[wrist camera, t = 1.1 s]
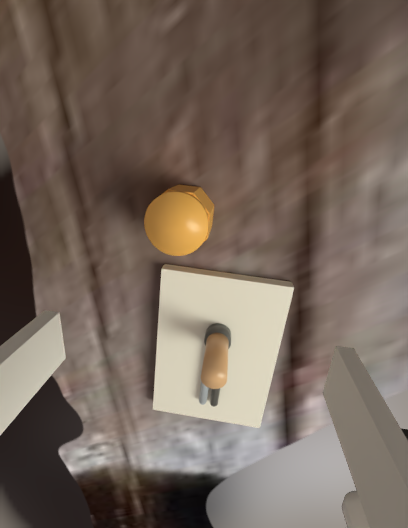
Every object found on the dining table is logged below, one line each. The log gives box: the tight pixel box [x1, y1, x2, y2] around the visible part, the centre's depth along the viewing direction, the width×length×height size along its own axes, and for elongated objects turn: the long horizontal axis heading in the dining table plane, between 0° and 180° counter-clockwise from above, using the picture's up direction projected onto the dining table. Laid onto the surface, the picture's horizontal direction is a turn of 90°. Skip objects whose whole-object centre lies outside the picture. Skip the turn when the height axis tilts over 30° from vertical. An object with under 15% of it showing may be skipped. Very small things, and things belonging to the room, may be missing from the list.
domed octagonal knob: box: [144, 184, 214, 256], centre depth 27 cm, size 5×5×6 cm
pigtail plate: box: [153, 264, 294, 428], centre depth 31 cm, size 20×14×8 cm
